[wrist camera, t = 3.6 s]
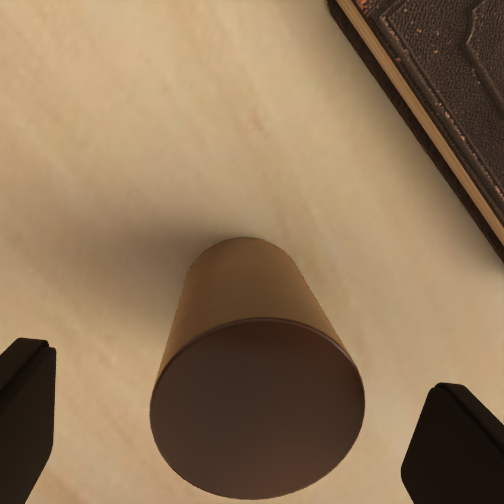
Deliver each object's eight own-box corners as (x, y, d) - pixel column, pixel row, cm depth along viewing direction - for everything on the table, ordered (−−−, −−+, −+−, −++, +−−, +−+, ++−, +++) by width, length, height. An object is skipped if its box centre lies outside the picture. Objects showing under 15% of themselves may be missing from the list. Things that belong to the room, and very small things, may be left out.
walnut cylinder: (314, 247, 17) (392, 334, 9) (289, 354, 18) (338, 507, 10) (191, 228, 16) (162, 303, 8) (176, 341, 17) (138, 493, 10)
